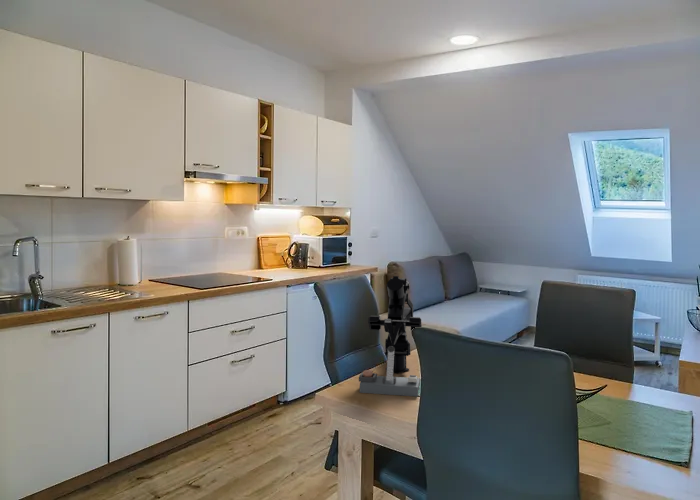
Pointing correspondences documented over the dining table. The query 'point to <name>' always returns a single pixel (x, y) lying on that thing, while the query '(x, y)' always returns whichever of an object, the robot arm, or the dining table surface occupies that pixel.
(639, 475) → the dining table surface
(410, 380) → the rocker switch
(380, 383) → the panel
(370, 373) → the push button
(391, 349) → the toggle lever
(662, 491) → the dining table surface
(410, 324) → the robot arm
